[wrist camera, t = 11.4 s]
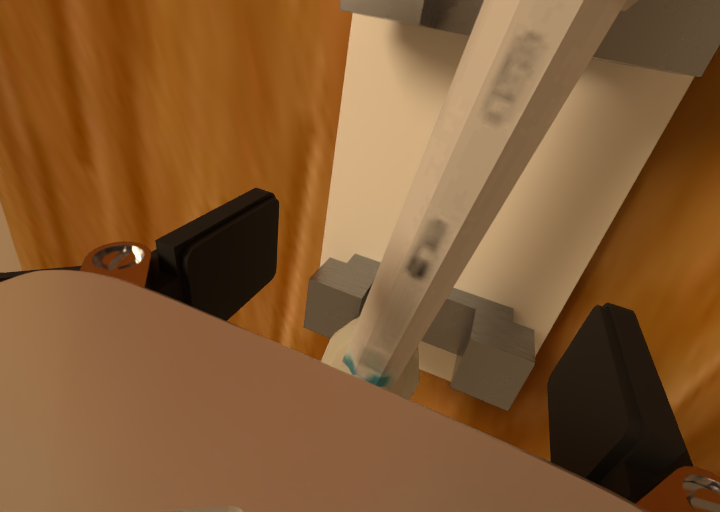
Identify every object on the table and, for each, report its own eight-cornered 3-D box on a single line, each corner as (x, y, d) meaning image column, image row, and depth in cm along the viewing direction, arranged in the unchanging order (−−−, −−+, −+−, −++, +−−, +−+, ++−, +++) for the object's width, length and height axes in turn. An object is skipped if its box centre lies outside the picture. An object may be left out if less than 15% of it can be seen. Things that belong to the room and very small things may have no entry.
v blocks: (390, -83, 18) (354, -119, 14) (721, -43, 14) (789, -76, 11) (332, 292, 29) (303, 327, 25) (510, 359, 26) (507, 410, 22)
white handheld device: (815, -230, 7) (368, 497, 18) (672, -76, 13) (399, 403, 24) (556, -289, 8) (274, 440, 19) (530, -118, 14) (327, 363, 25)
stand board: (391, -191, 17) (381, -211, 16) (818, -170, 13) (848, -193, 12) (320, 315, 33) (312, 325, 31) (508, 389, 29) (507, 404, 28)
